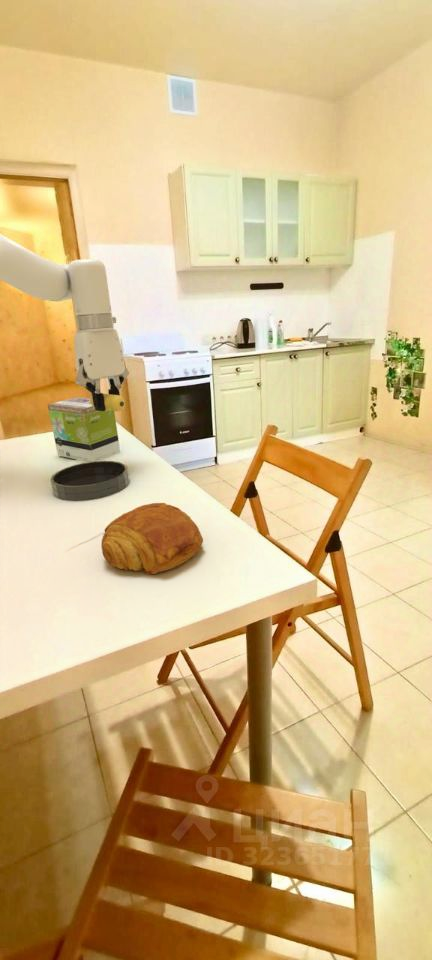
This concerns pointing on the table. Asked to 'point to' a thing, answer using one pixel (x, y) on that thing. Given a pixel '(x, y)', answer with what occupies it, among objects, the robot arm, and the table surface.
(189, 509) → the table surface
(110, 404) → the banana
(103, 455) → the tea box
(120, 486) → the shallow dish
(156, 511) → the croissant
